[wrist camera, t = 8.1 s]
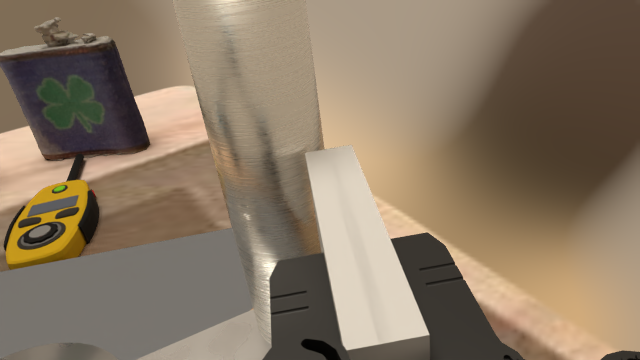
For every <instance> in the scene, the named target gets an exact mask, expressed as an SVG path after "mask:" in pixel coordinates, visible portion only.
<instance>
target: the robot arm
mask: <svg viewBox="0 0 640 360" xmlns="http://www.w3.org/2000/svg"><path fill="white" fill-rule="evenodd" d="M305 157H306V164H307V170H308V176H309V182H310V188H311V194H312V200H313V206H314V213H315V219H316V225H317V231H318V237H319V242H320V247H321V252H322V253H318V254H312V255H307V256H301V257H295V258H290V259H284V260H279V261H278V262H277V264H276V266H275V268H274V270H273V272H272V274H271V276H270V278H269V288H270V314H271V346H272V348H270V350H269V351H268V352H267V354H266V355H265V357H264V358H263V359H262V360H525V359H523V358H522V357H521V355H520V354H519V353H518V352H517V351H515V350H513V349H512V348H510V347H508V346H507V345H505V344H503V343H502V342H501V341H500V340H499V338H498V337H497V336H496V334H495V333H494V331H493V329H492V327H491V326H490V324H489V322H488V320H487V319H486V317H485V315H484V313H483V311H482V310H481V308H480V306H479V304H478V303H477V301H476V299H475V297H474V296H473V294H472V292H471V290H470V289H469V287H468V285H467V283H466V281H465V280H463V276H462V274H461V273H460V271H459V269H458V267H457V266H455V262H454V260H453V259H452V257H451V255H450V253H449V251H448V250H447V248H446V246H445V245H444V244H443V243H441V242H440V241H438V240H437V239H436V238H434V237H433V236H432V235H430V234H429V233H428V232H427V233H422V234H416V235H410V236H405V237H399V238H394V239H390V237H389V235H388V232H387V230H386V227H385V225H384V222H383V220H382V218H381V215H380V213H379V210H378V208H377V205H376V203H375V200H374V198H373V196H372V193H371V191H370V188H369V186H368V183H367V181H366V179H365V176H364V174H363V171H362V169H361V167H360V164H359V161H358V159H357V157H356V154H355V152H354V149H353V147H352V145H348V146H342V147H337V148H330V149H324V150H319V151H313V152H307V153H305ZM601 360H640V352H633V351H619V352H615V353H611V354H607V355H605V356H604V357H603V358H602V359H601Z"/></svg>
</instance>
